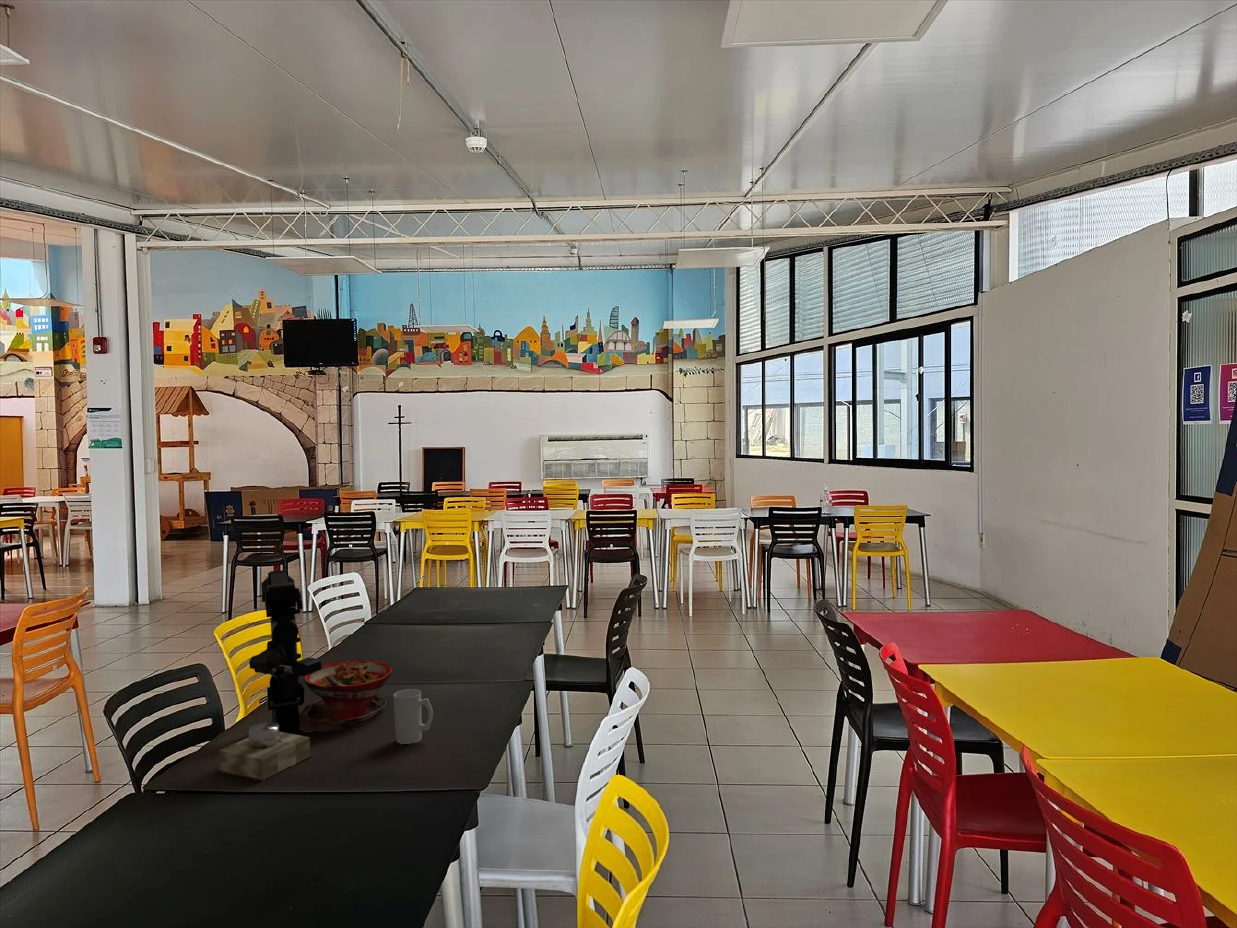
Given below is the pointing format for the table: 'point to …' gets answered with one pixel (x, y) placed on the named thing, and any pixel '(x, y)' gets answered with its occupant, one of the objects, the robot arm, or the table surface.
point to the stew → (344, 694)
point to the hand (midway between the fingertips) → (286, 697)
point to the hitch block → (264, 756)
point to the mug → (410, 716)
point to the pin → (264, 735)
